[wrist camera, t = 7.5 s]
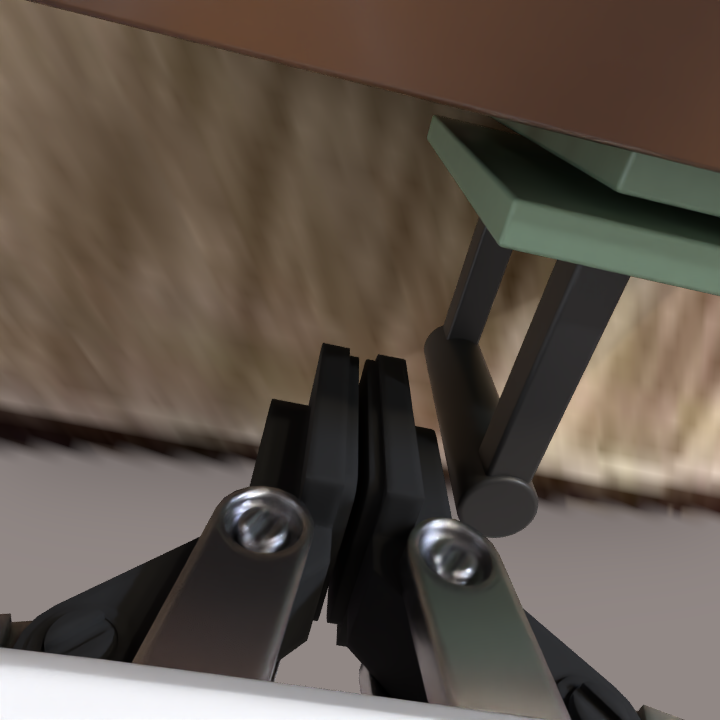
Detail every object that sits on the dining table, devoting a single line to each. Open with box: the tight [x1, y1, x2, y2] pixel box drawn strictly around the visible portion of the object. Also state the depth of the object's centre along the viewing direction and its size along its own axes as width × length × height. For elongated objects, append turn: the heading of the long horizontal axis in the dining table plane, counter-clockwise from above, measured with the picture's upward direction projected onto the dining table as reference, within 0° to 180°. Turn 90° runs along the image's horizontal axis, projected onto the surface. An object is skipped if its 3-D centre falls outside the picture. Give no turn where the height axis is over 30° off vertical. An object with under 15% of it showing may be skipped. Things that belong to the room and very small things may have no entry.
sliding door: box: [424, 115, 720, 538], centre depth 12 cm, size 9×6×8 cm, turn 77°
